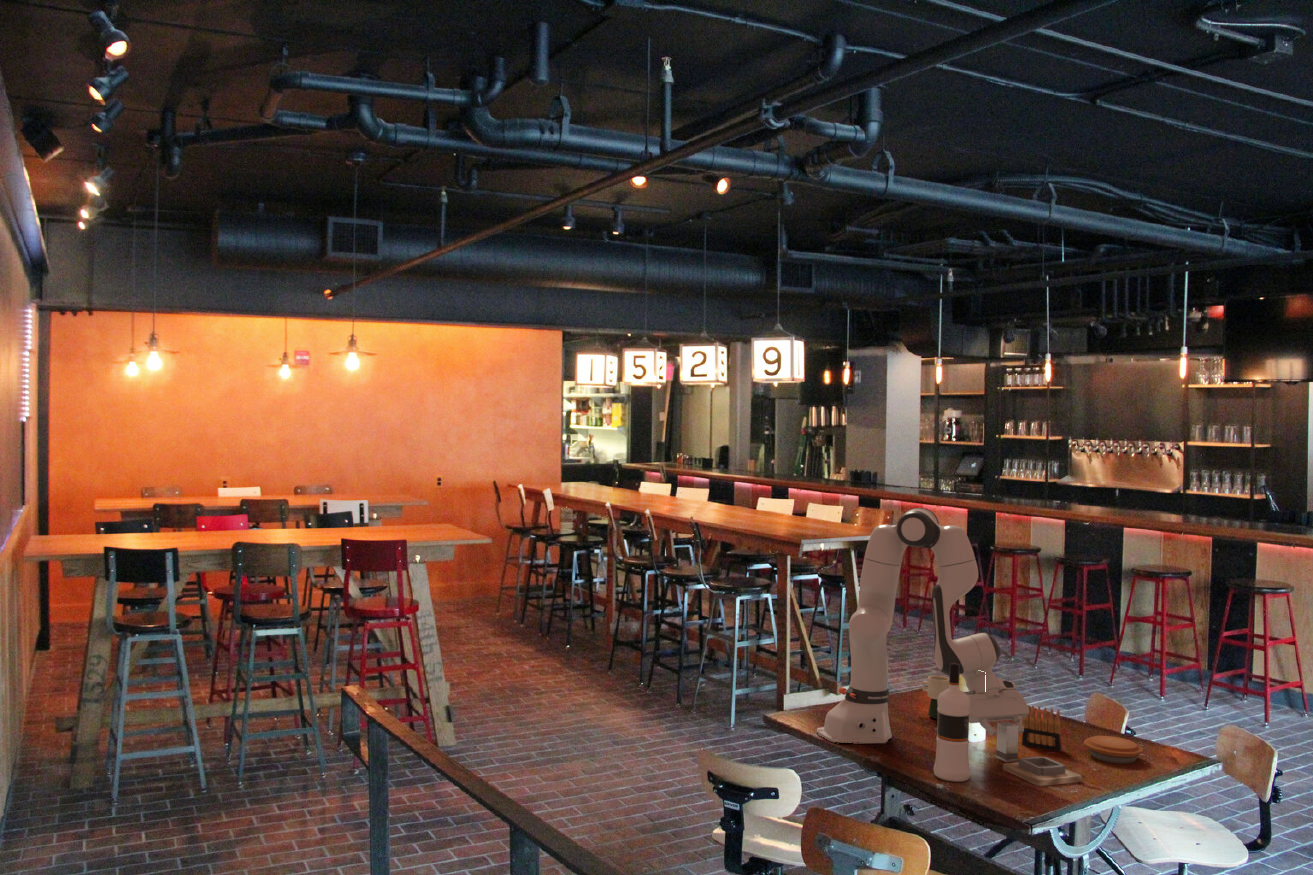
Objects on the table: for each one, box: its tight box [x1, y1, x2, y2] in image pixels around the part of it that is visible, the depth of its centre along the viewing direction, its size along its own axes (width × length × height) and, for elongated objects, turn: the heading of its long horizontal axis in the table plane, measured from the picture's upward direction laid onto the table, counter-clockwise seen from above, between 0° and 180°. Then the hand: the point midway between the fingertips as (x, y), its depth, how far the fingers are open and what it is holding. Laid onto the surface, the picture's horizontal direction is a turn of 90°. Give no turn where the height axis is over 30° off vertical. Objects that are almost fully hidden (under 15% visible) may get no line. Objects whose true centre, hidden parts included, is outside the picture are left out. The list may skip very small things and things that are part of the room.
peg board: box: [1002, 755, 1083, 787], centre depth 267 cm, size 14×14×4 cm
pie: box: [1083, 735, 1144, 765], centre depth 285 cm, size 16×16×5 cm
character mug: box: [921, 675, 949, 720], centre depth 322 cm, size 11×7×13 cm, turn 57°
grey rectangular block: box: [995, 721, 1019, 763], centre depth 280 cm, size 4×4×10 cm
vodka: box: [933, 663, 971, 783], centre depth 264 cm, size 9×9×30 cm
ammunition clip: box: [1021, 705, 1062, 752], centre depth 293 cm, size 11×2×12 cm, turn 58°
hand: (1007, 733), depth 281 cm, fingers open, 8 cm apart
